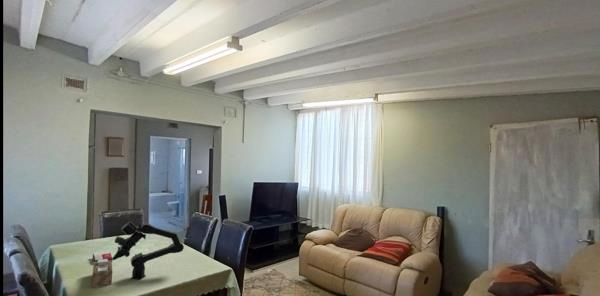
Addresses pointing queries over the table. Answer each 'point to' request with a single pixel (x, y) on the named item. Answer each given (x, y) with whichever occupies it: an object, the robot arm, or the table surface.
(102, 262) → the grey button
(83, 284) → the table surface
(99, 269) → the cream button
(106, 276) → the brown rectangular box
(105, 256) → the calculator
